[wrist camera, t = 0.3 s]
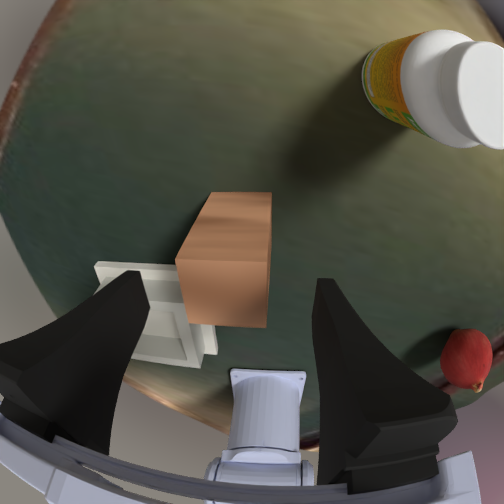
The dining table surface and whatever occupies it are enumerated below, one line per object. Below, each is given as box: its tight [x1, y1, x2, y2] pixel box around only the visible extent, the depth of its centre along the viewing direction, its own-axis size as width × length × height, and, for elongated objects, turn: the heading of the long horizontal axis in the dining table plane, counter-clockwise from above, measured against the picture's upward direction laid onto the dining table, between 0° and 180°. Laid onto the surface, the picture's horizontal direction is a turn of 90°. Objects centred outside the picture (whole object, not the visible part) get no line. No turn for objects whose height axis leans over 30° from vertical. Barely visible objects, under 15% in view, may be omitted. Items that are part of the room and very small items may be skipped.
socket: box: [94, 261, 218, 368], centre depth 24 cm, size 10×10×3 cm
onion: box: [440, 329, 492, 393], centre depth 22 cm, size 6×6×8 cm
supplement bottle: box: [362, 30, 504, 149], centre depth 10 cm, size 5×5×10 cm
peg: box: [175, 192, 272, 328], centre depth 17 cm, size 4×4×8 cm
